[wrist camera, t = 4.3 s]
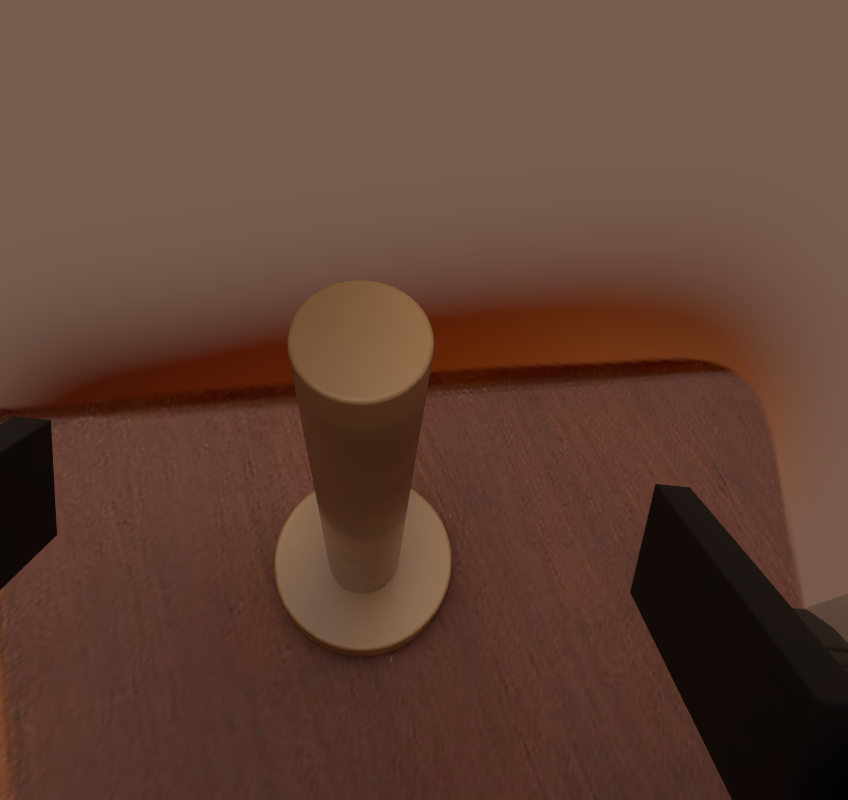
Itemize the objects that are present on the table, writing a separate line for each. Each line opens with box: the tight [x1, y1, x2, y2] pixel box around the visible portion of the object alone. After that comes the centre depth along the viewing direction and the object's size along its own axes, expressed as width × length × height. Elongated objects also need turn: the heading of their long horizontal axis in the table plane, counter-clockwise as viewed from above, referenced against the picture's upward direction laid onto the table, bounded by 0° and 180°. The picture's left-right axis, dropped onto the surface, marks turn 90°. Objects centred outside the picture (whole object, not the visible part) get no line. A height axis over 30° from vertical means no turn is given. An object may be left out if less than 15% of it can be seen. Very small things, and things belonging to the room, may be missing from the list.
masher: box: [274, 280, 452, 657], centre depth 17 cm, size 6×6×14 cm
